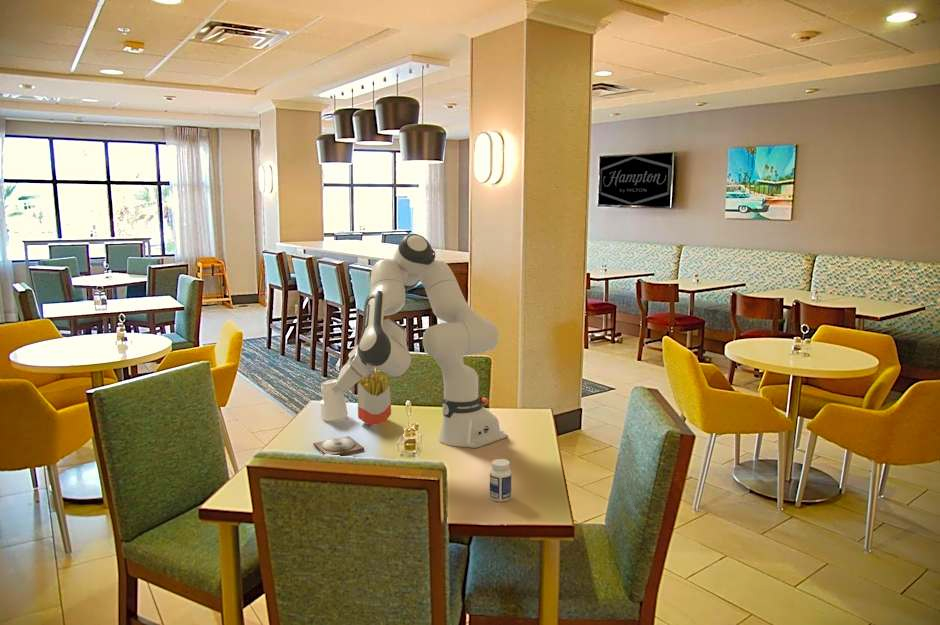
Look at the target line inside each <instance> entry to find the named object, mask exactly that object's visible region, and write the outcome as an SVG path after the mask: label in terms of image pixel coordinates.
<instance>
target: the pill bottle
mask: <svg viewBox="0 0 940 625" xmlns="http://www.w3.org/2000/svg"><path fill="white" fill-rule="evenodd" d="M510 465H511V464H510V461H509V460H508V459H506V458H505V459H504V458H497V459H494V460H492V461H491V469H490V471H489V498H490V500H491V501H495V502H499V503H500V502H507V501H510V499H511V498H512V471H511V469H510V467H511V466H510Z"/></svg>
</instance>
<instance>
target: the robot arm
mask: <svg viewBox="0 0 940 625" xmlns="http://www.w3.org/2000/svg"><path fill="white" fill-rule="evenodd" d="M371 268H372V269H371V273H370V278H369V279H370V281H369V282H370V283H369V284H370V285H369V287H370V288H369V289H370V290H369V292H370V293H369V294H368V295H367V297H366V298H365V301H364V308H363V316H362V329H361V334H360V338H359V341H358V344H357V345H356V346H355V347H354V348H353V349H351V351H349V353H348V355H347V356H348V358H349V359H348V360H347V362H346V363H345V364H344V365H343V366H342V367H341V368H340V371H339V373H338V377H337V378H338V379H337V381H336V384H335V386H334V387H333V388H332V389H333V390H334V391H335V394H336V393H337V392H338V391H341V392H342V393H344V394H345V393H347V392H348V391H349V390H350V389H351V388H352V387H354V386H355V385H356V384H358V383H359V380H360V379H361V378H363V377H364V378H365V377H366V376H367V375H368V374H369V375H370V374H371V373H372V372H373V371H374V369H377V370H380V371H381V373H384V374H385V375H387V376H389V377H392V378H400V377H403V376H404V375H405V374H406V373H407V372H408V371H409V369H410V368H411V366H412V362H413V361H412V360H413V359H412V354H411V353H410V351H409V348H408V345H407V334H408V332H407V330H406V328H405V327H403V326H402V325H401V324H399V323H398V322H397V321H396V320H394V319H393V318H386V319H384V316H385V317H387V316H388V317H389V316H391V315H394V314H397V313H398V312H400V311H401V310H402V309H403V307H404V306H405V303H406V291H410V290H412V289H414V288H415V287H416V286H417V285H418V284H419V282H420V283H421V285H422V286H423V287H424V290H425V294H426V296H427V298H428V302H429V303H430V304H429V305H430V307H431V310H432V313H433V314H434V315H435V317H436V318H437V319H439V320H440V321H443V322H442V323H441V322H440V323H437V324H434V325H431V326H428V327H426V329H425V330H424V333H423V335H422V346H423V349H424V351H425V353H427V355H428V356H429V357H431V358H432V359H433V360H435V361H436V362H437V364H438V365H439V368H440V370H441V372H442V377H443V378H442V380H443V396H442V405H441V406H442V407H441V408H442V422H441V429H440V433H439V435H438V436H439V437H438V440H439V442H441V443H442V444H445V445H447V446H452V447H467V448H471V449H472V448H473V449H477V448H479V447H480V448H481V447H482V446H486V445H488V444H491V443H494V442H497V441H499V440H502V439H504V438H507V433H506V431H505V430H504V429H502V428H500V423H499V419H498V417H497V416H496V415H495V414H493V413H492V412H491V411H489V410H488V409H487V408H486V407H484V405H485V406H486V405H489V403H490V402H489V401H490V400H489V399H488V398H487V397H482V396H480V395H479V374H478V373H477V372H476V370H475V369H474V368H472V367H470V366H468V365H467V364H465V363H464V357H465V356H472V355H481V354H484V353H487V352H491V351H492V350H495V349H496V347H497V346H498V343H499V341H500V333H499V329H498V327H497V326H496V324H495V323H494V322H492V321H490V320H488V319H486V318H484V317H482V316H481V315H480V314H478V313H477V312H476V311H475V310H474V309H473V308H472V306H470V304H468V302H467V301H466V298H465V297H464V294H463V292H462V289H461V287H460V285H459V282H458V280H457V278H456V276H455V274H454V272H453V271H452V268H450V266H449V265H448V263H446V262H445V261H443V260H439V259H436V251H435V249H433V248H432V245H431V244H430V242H429V241H428V240H427V239H426V238H425V237H424V236H422V235H420V234H417V233H409V234H407V235H405V236H404V237H402V239H401V240H400V242H399V243H398V247H397V249H396V251H395V253H394V255H393V259H388V258H384V259H383V258H382V259H380V260H378V261H376V262H375V264H374V265H373V266H372V267H371Z"/></svg>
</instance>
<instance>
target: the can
mask: <svg viewBox="0 0 940 625" xmlns="http://www.w3.org/2000/svg"><path fill="white" fill-rule="evenodd" d="M337 379H338V377H330V378H326V379H323V380H322V381H321V386H320V390H321V395H322V400H323V401H324V406H325V411H326V416H327V419H328V420H330V421H332V422H337V421H336V420H341V419H343V418H345V417H346V416H347V417H348V407H347V401H346V402H345V399H346V398H345V392H344V393H342V392H341V391H338V392H337V393H336V394H335V391H334V390H333V389H332V388H333V387H334V386H335V384H336V381H337ZM347 417H346V418H347ZM346 418H345V419H346ZM330 421H329V422H330ZM341 421H342V420H341Z"/></svg>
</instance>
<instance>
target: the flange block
mask: <svg viewBox="0 0 940 625" xmlns="http://www.w3.org/2000/svg"><path fill="white" fill-rule="evenodd" d="M312 444H313V445H314V446H315V447H316V448H317V449H318V450H320V451H321V452H322V453H323V454H331V455H342V456H346V455H351V454H355V453H361V452H364V451H365V447H364V446H362V445H361V444H360V443H359V442H358V441H356V440H355V439H354V438H352V437H351V436H349V435H348V436H343V437H335V438H330V439H328V440H322V441H317V442H313V443H312ZM314 446H313V447H314ZM315 447H314V448H315ZM316 448H315V449H316ZM317 449H316V450H317ZM318 450H317V451H318ZM322 453H321V454H322ZM323 454H322V455H323Z"/></svg>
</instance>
